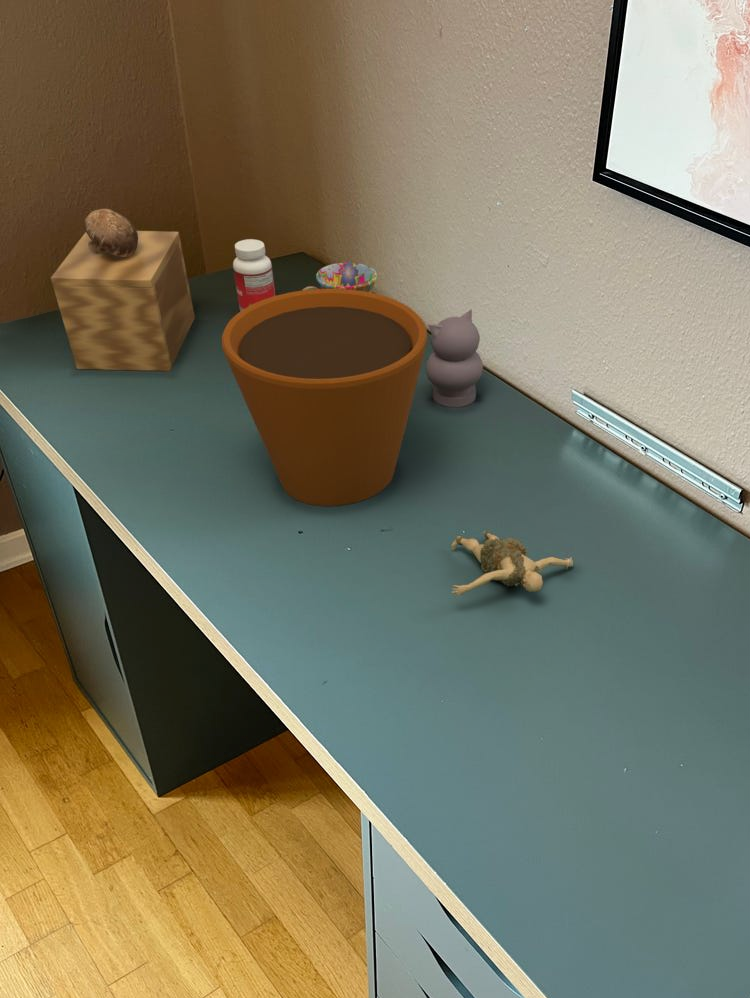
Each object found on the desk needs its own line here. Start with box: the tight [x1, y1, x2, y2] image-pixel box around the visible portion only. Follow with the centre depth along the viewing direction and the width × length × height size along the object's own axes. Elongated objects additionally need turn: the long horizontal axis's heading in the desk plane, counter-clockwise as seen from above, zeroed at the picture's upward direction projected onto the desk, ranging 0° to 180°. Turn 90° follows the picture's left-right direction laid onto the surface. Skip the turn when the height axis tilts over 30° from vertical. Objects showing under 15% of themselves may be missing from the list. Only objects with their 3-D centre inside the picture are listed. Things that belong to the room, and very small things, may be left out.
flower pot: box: [221, 288, 428, 507], centre depth 118 cm, size 24×24×20 cm
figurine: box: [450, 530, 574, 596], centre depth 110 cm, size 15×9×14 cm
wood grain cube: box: [50, 230, 196, 372], centre depth 145 cm, size 14×18×14 cm
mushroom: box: [84, 208, 138, 257], centre depth 139 cm, size 8×8×6 cm
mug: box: [301, 262, 378, 293], centre depth 149 cm, size 12×9×11 cm
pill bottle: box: [232, 238, 276, 312], centre depth 155 cm, size 6×6×11 cm
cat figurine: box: [425, 309, 484, 408], centre depth 136 cm, size 8×8×12 cm
